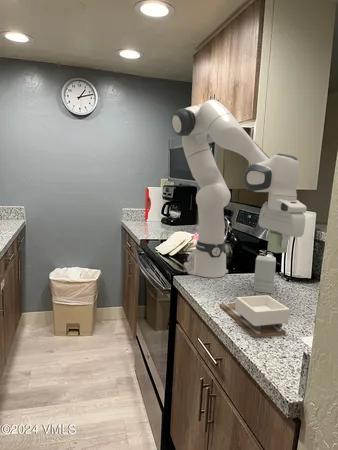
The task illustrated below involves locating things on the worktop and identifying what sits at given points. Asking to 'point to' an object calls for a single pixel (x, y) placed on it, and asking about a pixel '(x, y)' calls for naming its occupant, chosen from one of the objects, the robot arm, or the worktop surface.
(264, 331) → the track
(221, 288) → the worktop surface
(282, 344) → the worktop surface
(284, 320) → the square white tray
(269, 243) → the block
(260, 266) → the supplement box
